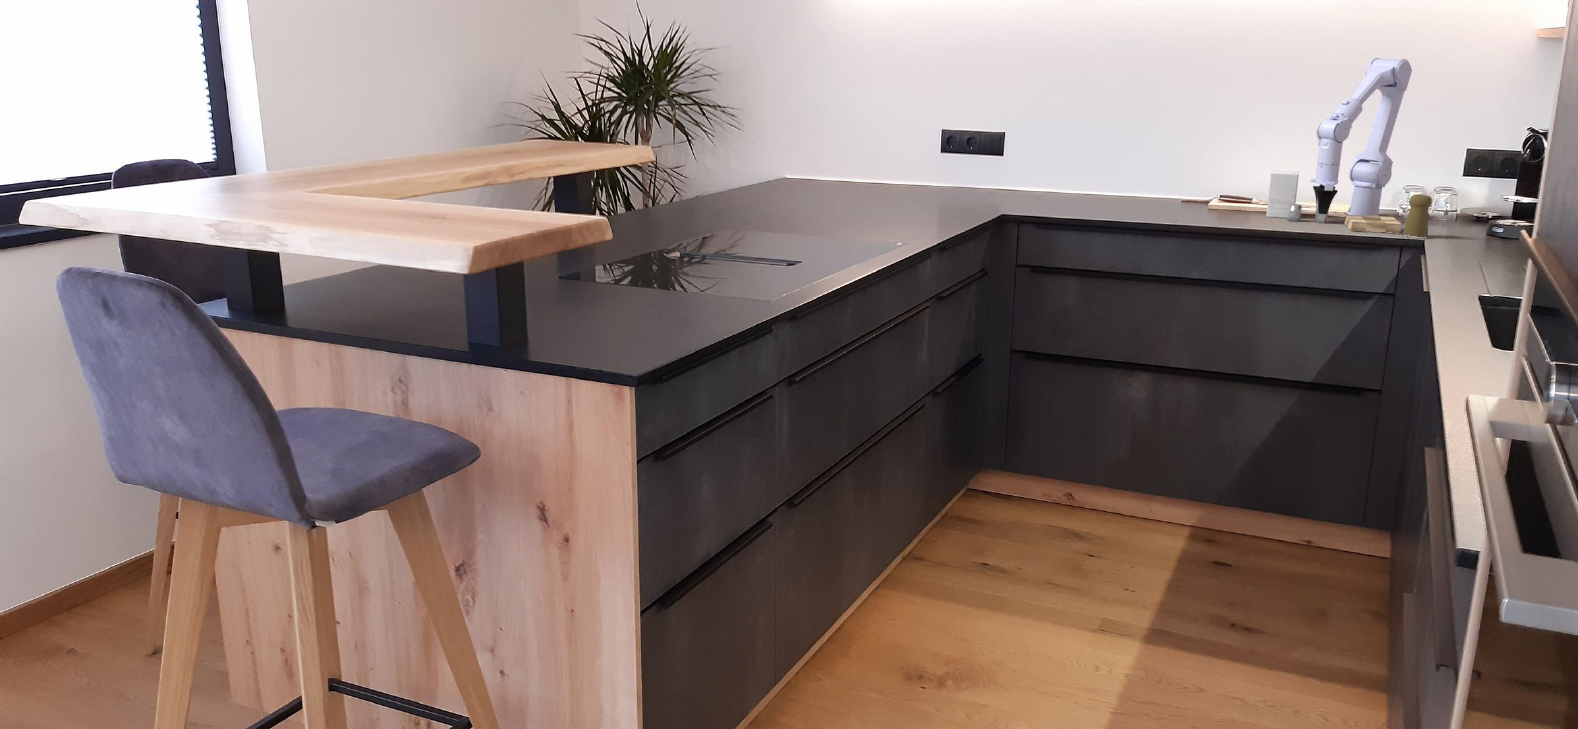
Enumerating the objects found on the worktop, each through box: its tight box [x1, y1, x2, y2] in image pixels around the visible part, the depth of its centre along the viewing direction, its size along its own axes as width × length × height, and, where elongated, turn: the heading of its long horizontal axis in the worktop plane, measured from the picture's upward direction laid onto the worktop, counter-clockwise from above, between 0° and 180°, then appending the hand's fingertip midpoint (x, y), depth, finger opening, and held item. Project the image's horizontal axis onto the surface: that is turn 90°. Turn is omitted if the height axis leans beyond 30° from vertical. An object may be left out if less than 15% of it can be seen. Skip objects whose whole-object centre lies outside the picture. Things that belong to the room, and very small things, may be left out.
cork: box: [1402, 193, 1433, 238], centre depth 306 cm, size 6×6×11 cm
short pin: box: [1287, 203, 1303, 223], centre depth 330 cm, size 3×3×4 cm
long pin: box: [1313, 199, 1329, 224], centre depth 327 cm, size 3×3×8 cm
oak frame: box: [1344, 214, 1402, 234], centre depth 318 cm, size 12×12×3 cm
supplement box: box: [1266, 169, 1300, 219], centre depth 337 cm, size 7×7×13 cm
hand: (1321, 212), depth 328 cm, fingers closed on long pin, 3 cm apart
